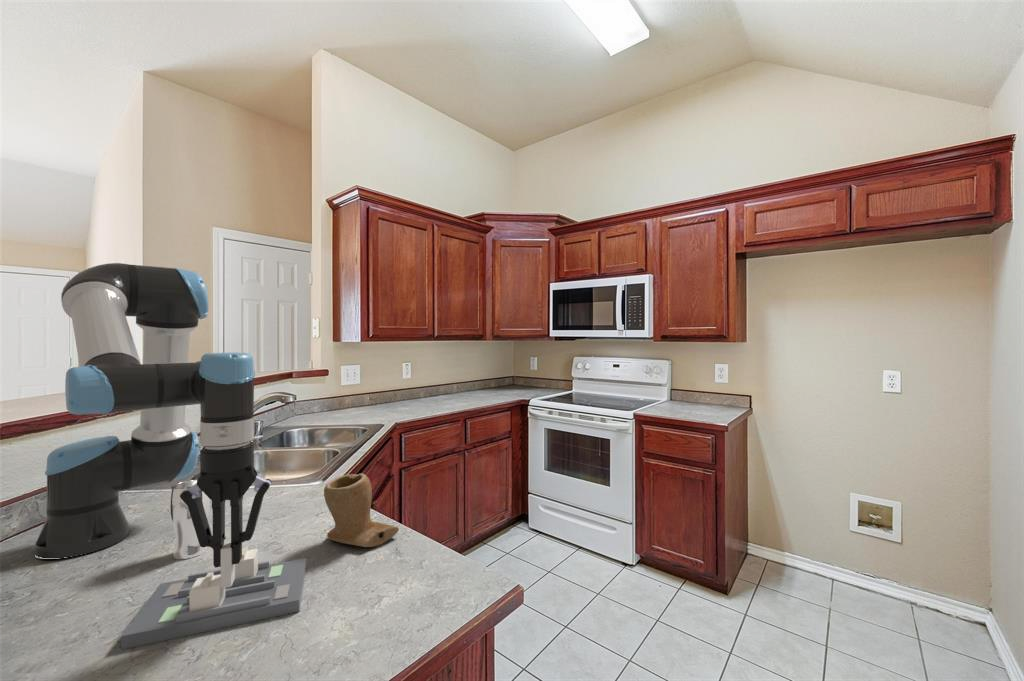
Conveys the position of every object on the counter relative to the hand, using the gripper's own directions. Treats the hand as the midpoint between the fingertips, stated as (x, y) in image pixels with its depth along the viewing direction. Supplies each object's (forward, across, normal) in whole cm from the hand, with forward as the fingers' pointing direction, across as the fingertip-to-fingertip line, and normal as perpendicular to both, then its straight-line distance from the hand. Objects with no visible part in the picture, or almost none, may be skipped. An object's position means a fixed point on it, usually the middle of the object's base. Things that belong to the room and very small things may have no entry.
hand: (227, 583), depth 72 cm
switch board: (+5, -1, +4) cm, 6 cm away
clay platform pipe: (+6, +21, +20) cm, 29 cm away
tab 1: (+3, -3, 0) cm, 4 cm away
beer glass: (+6, -13, +28) cm, 31 cm away
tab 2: (+3, +1, +8) cm, 8 cm away
